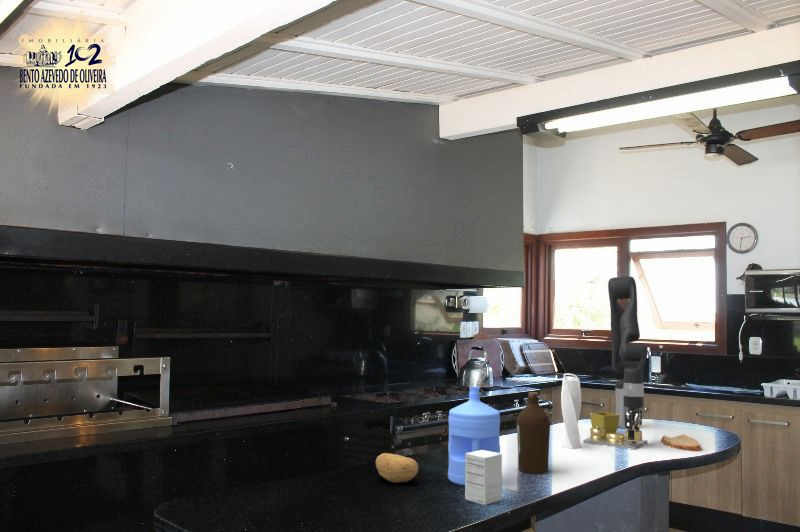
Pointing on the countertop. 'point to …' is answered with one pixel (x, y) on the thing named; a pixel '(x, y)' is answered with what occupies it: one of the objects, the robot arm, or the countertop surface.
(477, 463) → the supplement box
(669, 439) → the slice of bread
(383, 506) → the countertop surface
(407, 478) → the potato
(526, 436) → the olive oil
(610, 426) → the flower pot
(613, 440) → the carrier
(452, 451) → the water jug
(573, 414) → the skyscraper
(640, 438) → the gold octagonal ring
